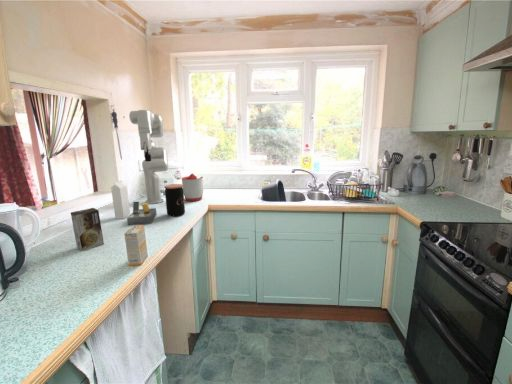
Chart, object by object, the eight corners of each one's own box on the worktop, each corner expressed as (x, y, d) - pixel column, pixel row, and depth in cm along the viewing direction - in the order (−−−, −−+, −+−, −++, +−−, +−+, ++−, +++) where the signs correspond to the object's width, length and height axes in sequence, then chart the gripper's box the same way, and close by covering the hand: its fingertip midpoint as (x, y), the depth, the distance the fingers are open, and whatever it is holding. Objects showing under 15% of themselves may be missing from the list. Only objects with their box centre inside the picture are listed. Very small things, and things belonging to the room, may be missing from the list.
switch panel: (135, 215, 162) (135, 209, 161) (156, 214, 164) (155, 207, 163) (127, 225, 145) (126, 217, 144) (151, 223, 147) (150, 216, 146)
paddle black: (133, 213, 154) (133, 202, 156) (139, 213, 154) (139, 202, 156) (132, 212, 152) (133, 201, 154) (138, 212, 153) (138, 201, 155)
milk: (115, 218, 158) (109, 182, 153) (122, 215, 163) (117, 180, 159) (124, 219, 156) (118, 182, 152) (131, 216, 162) (126, 180, 157)
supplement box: (135, 256, 106) (131, 225, 104) (148, 256, 107) (144, 224, 104) (127, 266, 98) (123, 232, 95) (141, 265, 99) (137, 232, 96)
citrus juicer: (210, 198, 205) (208, 172, 201) (193, 203, 191) (191, 175, 186) (195, 196, 213) (193, 171, 209) (178, 200, 199) (176, 174, 195)
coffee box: (98, 241, 124) (93, 207, 120) (104, 244, 119) (99, 209, 116) (76, 247, 117) (70, 212, 113) (81, 251, 113) (75, 214, 109)
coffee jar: (180, 217, 157) (177, 187, 154) (163, 216, 160) (160, 187, 156) (188, 212, 168) (186, 184, 164) (172, 211, 170) (170, 183, 166)
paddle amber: (144, 211, 154) (142, 203, 150) (149, 211, 155) (147, 202, 151) (144, 213, 153) (141, 204, 149) (149, 213, 154) (147, 204, 150)
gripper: (141, 131, 169) (144, 160, 173) (135, 131, 155) (139, 162, 159) (153, 131, 171) (156, 160, 174) (149, 130, 156) (152, 162, 160)
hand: (148, 161), depth 167 cm, fingers closed
